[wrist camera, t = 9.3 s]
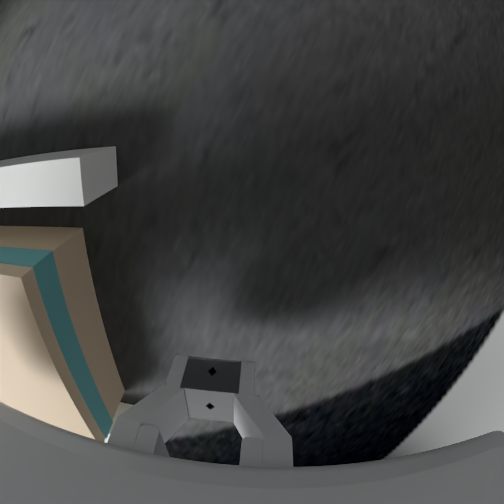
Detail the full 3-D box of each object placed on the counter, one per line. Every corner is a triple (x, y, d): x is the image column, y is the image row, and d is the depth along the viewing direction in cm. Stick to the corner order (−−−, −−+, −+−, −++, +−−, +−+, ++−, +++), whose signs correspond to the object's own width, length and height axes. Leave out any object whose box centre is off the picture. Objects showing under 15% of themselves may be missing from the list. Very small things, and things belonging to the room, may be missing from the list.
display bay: (-47, 170, 10) (-78, 184, 8) (115, 146, 10) (79, 157, 8) (25, 385, 17) (11, 407, 15) (162, 422, 17) (154, 454, 14)
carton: (-22, 222, 12) (-77, 258, 8) (86, 224, 12) (21, 276, 8) (27, 361, 16) (-3, 406, 12) (127, 388, 16) (102, 449, 12)
